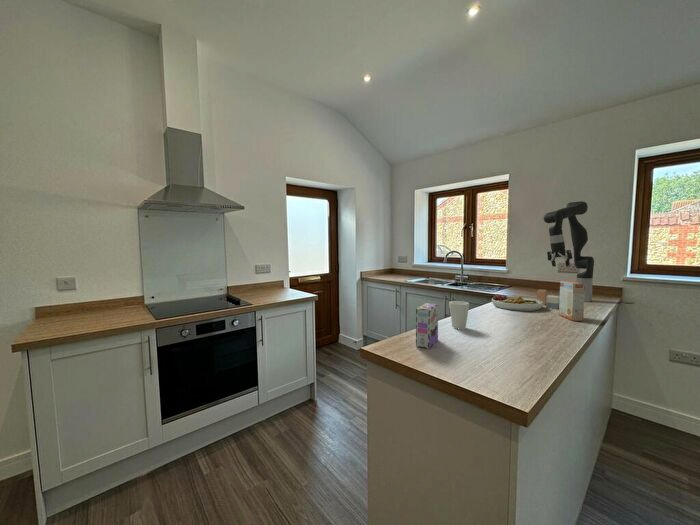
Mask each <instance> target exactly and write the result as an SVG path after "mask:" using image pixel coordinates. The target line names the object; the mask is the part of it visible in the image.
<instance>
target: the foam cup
mask: <svg viewBox="0 0 700 525" xmlns="http://www.w3.org/2000/svg"><path fill="white" fill-rule="evenodd" d="M448 303H449V304H448V307H449V311H450V313H449V314H450V319H451V327H454V328H459V329H463V330H465V329H466V328H467V320H468V316H469V308H470V303H469V302H468V301H462V300H452V301H448ZM454 328H453V329H454ZM464 328H465V329H464ZM459 329H458V330H459Z"/></svg>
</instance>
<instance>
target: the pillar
mask: <svg viewBox="0 0 700 525" xmlns="http://www.w3.org/2000/svg"><path fill="white" fill-rule="evenodd" d="M536 294H537V295H536V296H537V297H536V300H540V301H542V302H543V305H542V306H546V305H545V304H546V299H547V296H548V292H547V290H546V289H538V290H537V291H536Z"/></svg>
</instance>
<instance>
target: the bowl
mask: <svg viewBox="0 0 700 525" xmlns="http://www.w3.org/2000/svg"><path fill="white" fill-rule="evenodd" d="M491 302H492V303H491V304H493V306H495V307H496V306H497V307H496V308H499V309H502V308H503V309H502V310H507V309H509V310H508V311H515V310H517V312H534V311H538V310H540V309H541V308H542V307H543V306H544V305H543V302H542V301H540V300H537V298H535V299H534V298H529V297H521V295H519V296H506V295H505V294H500V293H499V294H498V293H497V294H494V295H493V297H492V298H491Z"/></svg>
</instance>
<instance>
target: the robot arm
mask: <svg viewBox="0 0 700 525" xmlns="http://www.w3.org/2000/svg"><path fill="white" fill-rule="evenodd" d="M588 209H589V207H588V203H587V202H586V201H582V200H581V201H572V202H570V201H569V202H568V203H567V204H566V206H565V207H563V208H560V209H557V210H554V211H551V212H546V213H545V214H544V215H543V221H544V222H545V223H547V224H552V223H555V224H554V225H553V226H550V227H549V228H548V233H549V244H550V250H549V251H547V253H546V254H547V261H550V262H551V267H554V268H555V267H557V264H556V259H557V258H562V259H563V260H565V262H564V263H565V266H566V267H570V265H571V263H570V260H572V259H573V262H574V267H575V268H576V269H582V270H585V271H583V272H579V273H577V274H576V282H578V283H582V284H585V290H584V303H590V302H593V279H594V278H593V277H594V266H595V259H594V257H593V256H588V255H587V256H584V255H583V256H582V255H581V254H582V253H581V252H582V251H583V248H584V247H585V246H586V244H587V242H588V241H589V236H588V230H587V229H586V228H585V226H583V225H582V223H580V221H579V220H578V219H577V216H581V215H584V214H586V213H587V212H588ZM565 219H568V223H569V229H570V237H571V243H572V247H573V248H572V249H573V254H572V250H571V249H566V243H565V238H564V237H565V236H564V234H563V223H564V222H563V221H564V220H565Z"/></svg>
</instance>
